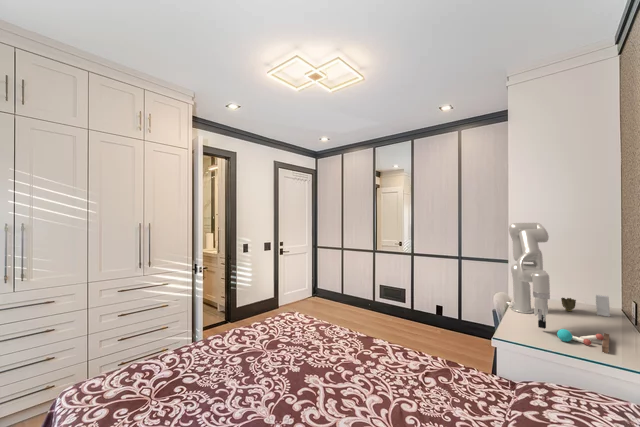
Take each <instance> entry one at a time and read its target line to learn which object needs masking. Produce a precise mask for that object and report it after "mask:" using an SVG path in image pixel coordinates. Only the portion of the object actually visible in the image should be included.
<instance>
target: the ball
mask: <svg viewBox="0 0 640 427" xmlns="http://www.w3.org/2000/svg"><path fill="white" fill-rule="evenodd" d="M556 336H557V337H558V339H559V340H560V341H562V342H565V343H566V342H567V343H568V342H571V341H573V340H572V336H573V334H572V332H571V331H569V330H568V329H565V328H561V329H558V330H557V331H556Z"/></svg>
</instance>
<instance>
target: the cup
mask: <svg viewBox="0 0 640 427" xmlns="http://www.w3.org/2000/svg"><path fill="white" fill-rule="evenodd" d="M560 300H561V305H562V307H563V308H564V310H565V311H566V312H570V313H571V312H573V310H574V309H575V307H576V303H577V300H576V299H574V298H571V297H567V298H565V297H561V298H560Z"/></svg>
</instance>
